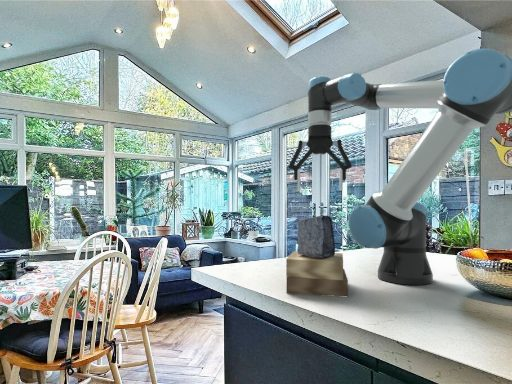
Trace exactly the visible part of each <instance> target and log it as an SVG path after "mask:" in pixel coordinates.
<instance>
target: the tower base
mask: <svg viewBox="0 0 512 384" xmlns="http://www.w3.org/2000/svg"><path fill="white" fill-rule="evenodd" d="M285 290H286V292H285V293H286V294H290V295H304V296H305V295H307V296H309V295H310V296H322V295H334V296H333V297H340V296H348V297H349V279H348V277H347V274H346V270H345V268H343V280H330V279H313V278H296V277H286V289H285Z"/></svg>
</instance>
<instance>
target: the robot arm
mask: <svg viewBox="0 0 512 384" xmlns="http://www.w3.org/2000/svg"><path fill="white" fill-rule="evenodd" d="M307 88H308V89H307V90H308V91H307V97H308V98H307V99H308V102H307V103H308V106H307V107H308V108H307V109H308V112H307V115H308V117H307V118H308V119H307V120H308V121H307V124H308V129H307V130H308V131H307V132H308V133H307V134H308V135H307V136H308V137H307V141H303V140H299V141H298V144H297V145H298V146H297V148H296V150H295V152H294V155H293V156H292V159H291V161H290V163H289V165H288V169H290V170H293V179H294V181H296V182H297V187H296V188H297V189H296V190H297V191H301V170H299V169H300V168H301V167H302V165H304V164H305V162H306V161H307V160H308V159H309V157H311V155H312V154H313V155H326V154H327V155H328V156H329V157H330V158H331V159H332V161H334V163H335V164H337V165H338V167H339V168H340V170H339V191H343V181H346V179H347V170H349V169H351V168H352V167H353V166H352V163H351V161H350V159H349V157H348V156H347V153H346V151H345V149H344V147H343V145H342V139H337V140H333V139H332V126H331V125H332V108H333V106H335V105H339V104H342V103H344V104H349V105H352V106H357V107H361V108H364V109H367V110H372V111H378V110H381V109H438V110H437V112H436V113H435V115H434V117H432V119H431V121H430V122H429V124H428V125H427V127H426V128H425V130H424V131H423V132H422V134H421V135H420V137H419V138H418V139H417V141H416V142H415V143H414V144H413V146H412V148H411V149H410V151H409V152H408V153H407V154H406V156H405V158H404V159H403V161H402V162H401V163H400V165H399V166H398V168H397V169H396V171H395V172H394V173H393V175H392V176H391V178H390V179H389V180H388V182H387V183H386V184H385V186H384V188H383V189H382V190H379V191H378V190H377V191H374V192H373V193H372V195H371V196H370V197H369V199H368V200H367V202H366V203H365V204H361V205H357V206H356V207H355V208H353V209H352V210H351V212H350V214H349V215H348V223H347V224H348V227H349V228H348V229H349V233H350V235H351V238H352V240H354V242H355V243H356V244H357V245H359V246H360V247H362V248H364V249H375V250H376V249H377V250H378V249H380V248H383V253H382V257H381V259H380V262H379V265H378V268H377V278H378V279H380V280H382V281H384V282H389V283H392V284H398V285H410V286H411V285H414V286H421V285H430V284H433V283H434V279H433V277H434V276H433V275H434V274H433V270H432V268H431V266H430V262H429V259H428V256H427V213H426V207H425V205H424V204H423V203H421V202H418V201H419V200H420V198H421V197H422V196H423V195H424V194H425V193H426V191H427V189H428V188H429V187H430V186H431V184H432V183H433V182H434V180H435V179H436V178H437V177H438V176H439V174H440V173H441V171H442V170H444V168H445V167H446V165H447V164H448V163H449V162H450V160H451V159H452V157H454V155H455V154H456V152H458V150H459V149H460V147H461V146H462V145H463V144H464V142H465V141H466V140H467V138H468V137H469V136H470V135H471V134H472V132H473V130H475V129H477V128H483V127H486V126H487V124H488V123H490V121H491V120H492V118H493V117H494V116H495V115H504V114H508V113H510V112H512V58H511V57H510V56H509V55H507V54H505V53H503V52H500V51H498V50H496V49H493V48H476V49H474V50H470V51H467V52H465V53H464V54H462V55H460V56H459V57H457V58H456V59H455V60H454V61H453V62H452V63H451V64H450V65H449V67H448V68H447V70H446V71H445V74H444V76H443V79H441V80H440V79H439V80H438V79H437V80H436V79H435V80H425V81H409V82H408V81H406V82H392V83H391V82H390V83H389V82H388V83H379V84H378V83H377V84H373V83H372V84H371V83H369V82H366V79H365V77H363V75H362V74H360V73H359V72H352V73H346V74H344V75H342V76H340V77H337V78H335V79H331V78H330V77H328V76H317V77H313V78H311V79H310V80H309V81H308V87H307ZM333 145H334V147H335V148H337V150H338V152H339V153H340V155H341V157H342V159H343V161H344V163H345V165H344V163H343V162H342V161H341V159H339V157H338V156H337V155H336V154H335V152H334V151H333V150H332V149H331V148H332V147H333ZM305 146H307V147H308V150H307V152H306V153H305V154H304V155H303V156H302V158H301V159H300V160H299V162H298V163H296V161H297V160H298V158H299V157H300V156H299V155H300V154H301V153H302V149H305Z"/></svg>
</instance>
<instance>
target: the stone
mask: <svg viewBox="0 0 512 384" xmlns="http://www.w3.org/2000/svg"><path fill="white" fill-rule="evenodd" d="M296 223H297V228H298V232H297V250H296V251H297V252H298V254H299V255H305V256H309V257H313V258H324V257H330V256H333V255H334V254H335V253H336V251H335V250H336V247H335V246H336V243H335V234H334V232H335V231H334V227H333V220H332V218H331V216H330V215H317V216H312V217H306V218H300V219H297V222H296Z"/></svg>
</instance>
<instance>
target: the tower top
mask: <svg viewBox="0 0 512 384" xmlns="http://www.w3.org/2000/svg"><path fill="white" fill-rule="evenodd" d="M343 254H344V253H343V252H342V253H341V252H340V253H339V252H337V253H336V252H335V254H334V255H333V256H330V257H324V258H313V257H309V256H305V255H299V254H298V252H297V250H296V251H292V252H291V253H290V255H289V256H287V258H286V260H285V261H286V262H285V263H286V264H285V265H286V270H285V273H286V275H285V277H286V278H287V277H296V278H313V279H330V280H343V269H344V255H343Z"/></svg>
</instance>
